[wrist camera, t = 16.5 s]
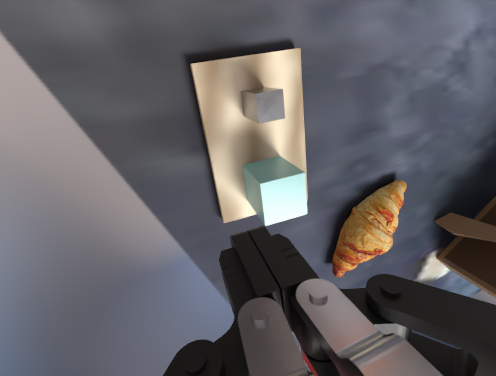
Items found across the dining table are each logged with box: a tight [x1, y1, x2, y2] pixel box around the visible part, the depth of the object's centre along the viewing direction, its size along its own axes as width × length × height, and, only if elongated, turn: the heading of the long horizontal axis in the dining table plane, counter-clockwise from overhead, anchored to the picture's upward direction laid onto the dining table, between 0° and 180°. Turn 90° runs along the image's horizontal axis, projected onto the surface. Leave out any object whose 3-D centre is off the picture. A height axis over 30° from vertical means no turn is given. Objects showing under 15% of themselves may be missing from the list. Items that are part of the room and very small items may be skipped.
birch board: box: [190, 48, 308, 223], centre depth 38 cm, size 14×22×2 cm, turn 8°
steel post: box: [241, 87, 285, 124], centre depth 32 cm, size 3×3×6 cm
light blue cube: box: [242, 156, 307, 226], centre depth 36 cm, size 6×6×8 cm
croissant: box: [332, 180, 407, 277], centre depth 49 cm, size 21×10×8 cm, turn 148°
